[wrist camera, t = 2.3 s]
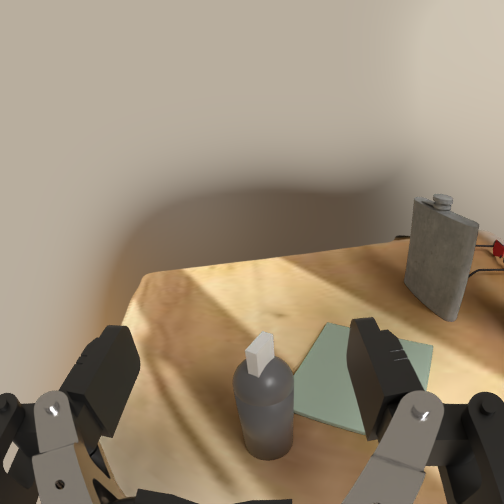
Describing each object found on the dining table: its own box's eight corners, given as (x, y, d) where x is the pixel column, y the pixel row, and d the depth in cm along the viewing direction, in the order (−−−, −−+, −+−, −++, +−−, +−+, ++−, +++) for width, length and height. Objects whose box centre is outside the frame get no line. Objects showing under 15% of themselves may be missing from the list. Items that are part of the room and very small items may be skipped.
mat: (327, 325, 48) (327, 322, 48) (432, 348, 39) (433, 345, 39) (274, 405, 35) (274, 403, 35) (412, 446, 26) (413, 443, 25)
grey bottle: (260, 416, 33) (248, 315, 27) (300, 432, 31) (305, 331, 24) (236, 448, 29) (211, 352, 23) (278, 467, 27) (273, 376, 20)
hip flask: (459, 318, 44) (485, 209, 35) (444, 325, 43) (470, 211, 35) (412, 277, 58) (423, 183, 50) (397, 281, 58) (407, 184, 49)
